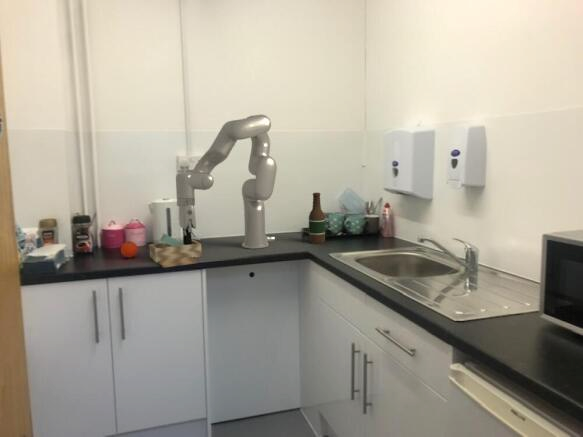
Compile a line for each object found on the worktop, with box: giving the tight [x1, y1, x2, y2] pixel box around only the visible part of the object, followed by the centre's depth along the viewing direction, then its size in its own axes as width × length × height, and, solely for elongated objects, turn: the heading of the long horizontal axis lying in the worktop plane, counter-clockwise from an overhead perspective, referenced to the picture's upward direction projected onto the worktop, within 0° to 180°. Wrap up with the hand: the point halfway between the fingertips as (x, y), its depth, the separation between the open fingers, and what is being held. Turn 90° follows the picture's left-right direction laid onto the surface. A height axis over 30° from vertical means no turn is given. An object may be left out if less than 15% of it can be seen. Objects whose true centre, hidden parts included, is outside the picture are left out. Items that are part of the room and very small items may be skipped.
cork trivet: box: [157, 257, 199, 268], centre depth 189 cm, size 14×9×1 cm, turn 119°
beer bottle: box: [308, 192, 326, 245], centre depth 224 cm, size 8×8×24 cm
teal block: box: [160, 233, 184, 247], centre depth 199 cm, size 12×4×3 cm
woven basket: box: [148, 239, 203, 263], centre depth 200 cm, size 19×12×6 cm, turn 119°
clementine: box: [120, 241, 139, 259], centre depth 200 cm, size 8×7×7 cm
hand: (187, 244), depth 202 cm, fingers closed
